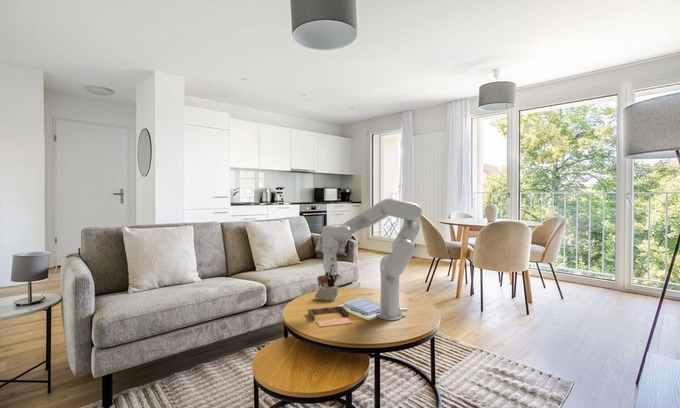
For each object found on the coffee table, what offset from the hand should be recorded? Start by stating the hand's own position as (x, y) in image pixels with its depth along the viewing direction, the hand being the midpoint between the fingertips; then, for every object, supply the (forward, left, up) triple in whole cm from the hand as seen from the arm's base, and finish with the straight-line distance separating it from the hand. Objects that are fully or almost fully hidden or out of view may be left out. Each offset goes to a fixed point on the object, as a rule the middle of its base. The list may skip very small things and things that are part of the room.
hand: (329, 285), depth 165 cm
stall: (0, -1, -16) cm, 16 cm away
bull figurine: (0, 0, -2) cm, 2 cm away
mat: (0, +9, -16) cm, 18 cm away
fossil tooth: (-6, -27, -16) cm, 32 cm away
